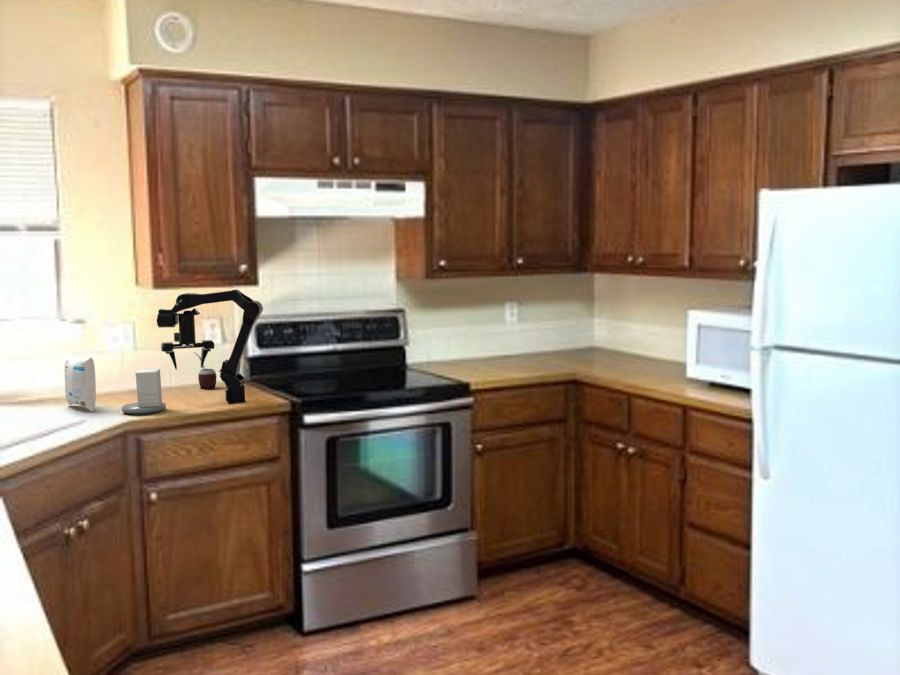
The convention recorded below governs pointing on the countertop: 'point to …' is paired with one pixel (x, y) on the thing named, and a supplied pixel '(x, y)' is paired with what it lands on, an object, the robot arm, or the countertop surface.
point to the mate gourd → (207, 377)
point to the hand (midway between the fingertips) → (188, 368)
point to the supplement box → (148, 387)
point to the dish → (142, 408)
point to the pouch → (80, 381)
